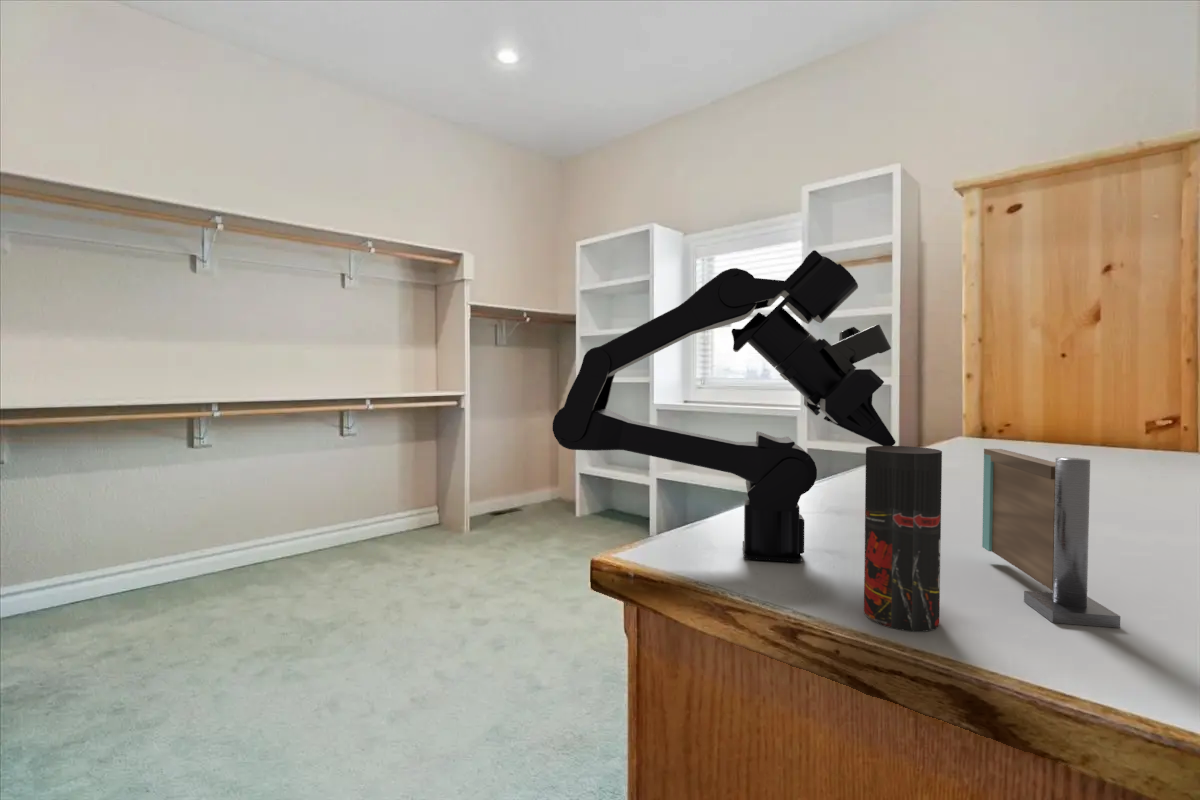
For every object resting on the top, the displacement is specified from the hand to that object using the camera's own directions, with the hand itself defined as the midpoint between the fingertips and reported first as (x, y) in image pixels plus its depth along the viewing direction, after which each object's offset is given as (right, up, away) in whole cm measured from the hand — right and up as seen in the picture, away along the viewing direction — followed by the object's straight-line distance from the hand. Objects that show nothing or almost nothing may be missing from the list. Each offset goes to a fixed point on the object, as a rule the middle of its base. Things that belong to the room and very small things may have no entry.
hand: (891, 445), depth 67 cm
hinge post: (+8, -14, -15) cm, 22 cm away
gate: (+10, -12, -6) cm, 17 cm away
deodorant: (-7, -14, -15) cm, 22 cm away
